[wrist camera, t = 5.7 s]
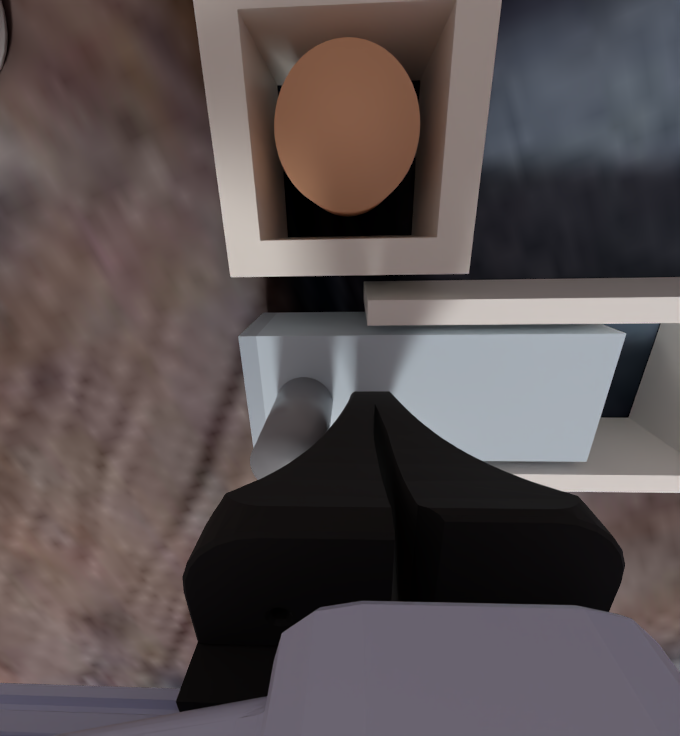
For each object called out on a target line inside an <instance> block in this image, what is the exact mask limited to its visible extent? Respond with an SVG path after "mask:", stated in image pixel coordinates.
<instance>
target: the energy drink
mask: <svg viewBox="0 0 680 736" xmlns="http://www.w3.org/2000/svg"><path fill="white" fill-rule="evenodd" d="M7 41H8V32H7V23H6V16H5V12H4V8H3V4H2V0H0V71H1V69H2V67H3V65H4V61H5V57H6V53H7Z"/></svg>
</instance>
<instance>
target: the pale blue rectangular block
mask: <svg viewBox="0 0 680 736" xmlns="http://www.w3.org/2000/svg"><path fill="white" fill-rule="evenodd" d="M625 336H626V333H624V332H621V331H618V330H616V329H613V328H611V327H608V326H605V325H603V324H502V325H382V326H367V319H366V313H365V312H284V313H263V314H262V315H261V316H260V317H259V318H257V319H256V320H255V321H254V322H253V323H252V324H251V325H250V326H249V327H248V328H247V329H246V330H245V331H244V332H242V333H241V334H240V335H239V336H238V337H239V345H240V352H241V359H242V367H243V374H244V382H245V389H246V396H247V404H248V411H249V418H250V426H251V433H252V440H253V451H252V453H251V457H250V465H251V469H252V472H253V474H254V475H255V477H256V478H257V480H259V479H261V478H263V477H265V476H267V475H269V474H271V473H273V472H275V471H276V470H278V469H280V468H282V467H283V466H285V465H287V464H288V463H290V462H291V461H293V460H294V459H296V458H297V457H298V456H300V455H301V454H303V453H304V452H305V451H307V450H308V449H309V448H310V447H311V446H313V445H314V444H315V443H316V442H317V441H318V440H319V439H320V438H321V437H322V436H323V435H324V434H325V433H326V432H327V430H328V429H329V428H330V427H331V426H332V424H333V423H334V422H335V421H336V419H337V418H338V417H339V415H340V414H341V412H342V411H343V409H344V408H345V406H346V404H347V403H348V401H349V399H350V396H351V394H352V393H353V392H354V391H390V392H391V393H392V394H393V395H394V396H395V398H396V399H397V400H398V401H399V402H400V403H401V404H402V405H403V406H404V407H405V408H406V409H407V410H408V411H409V412H410V413H411V414H412V415H414V416H415V417H416V418H417V419H418V420H419V421H420V422H422V423H423V424H424V425H425V426H427V427H428V428H429V429H431V430H432V431H433V432H434V433H436V434H437V435H439V436H440V437H441V438H443V439H444V440H446V441H448V442H449V443H451V444H452V445H454V446H456V447H457V448H459V449H461V450H462V451H464V452H466V453H468V454H470V455H472V456H474V457H476V458H477V459H479V460H481V461H546V462H587V459H588V456H589V453H590V449H591V446H592V443H593V440H594V436H595V433H596V430H597V427H598V424H599V420H600V417H601V414H602V411H603V407H604V404H605V401H606V398H607V394H608V391H609V388H610V385H611V382H612V378H613V375H614V372H615V369H616V365H617V362H618V359H619V356H620V353H621V349H622V346H623V343H624V340H625Z"/></svg>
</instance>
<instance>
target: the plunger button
mask: <svg viewBox="0 0 680 736" xmlns="http://www.w3.org/2000/svg"><path fill="white" fill-rule="evenodd" d="M419 134H420V112H419V104H418V100H417V95H416V92H415V90H414V87H413V84H412V82H411V80H410V78H409V76H408V74H407V72H406V71H405V69H404V68H403V66H402V65H401V64H400V63H399V61H398V60H397V59H396V58H395V57H394V56H393V55H392V54H391V53H389V52H388V51H387V50H386V49H384V48H383V47H381V46H379V45H378V44H376V43H373V42H371V41H368V40H365V39H361V38H356V37H342V38H335V39H332V40H328V41H325V42H323V43H321V44H319V45H317V46H315V47H314V48H312V49H311V50H309V51H308V52H307V53H305V54H304V55H303V56H302V57H301V58H300V59H299V60H298V61H297V63H296V64H295V65H294V66H293V67H292V69H291V70H290V72H289V74H288V75H287V77H286V79H285V81H284V83H283V85H282V87H281V90H280V93H279V96H278V99H277V104H276V109H275V118H274V135H275V142H276V147H277V151H278V155H279V158H280V161H281V164H282V166H283V168H284V170H285V172H286V174H287V176H288V177H289V179H290V180H291V182H292V183H293V184H294V185H295V187H296V188H297V189H298V190H299V191H300V192H301V193H302V194H303V195H304V196H305V197H307V198H308V199H310V200H311V201H312V202H314V203H315V204H317V205H318V206H320V207H321V208H323V209H324V210H326V211H328V212H330V213H332V214H335V215H339V216H347V217H350V216H357V215H361V214H364V213H367V212H369V211H370V210H372V209H374V208H375V207H376V206H378V205H379V204H380V203H381V202H382V201H383V200H384V199H385V198H386V197H387V196H388V195H389V194H390V193H391V192H393V191H394V190H395V189H396V188H397V186H398V185H399V184H400V183H401V181H402V180H403V179H404V177H405V175H406V174H407V172H408V170H409V168H410V166H411V164H412V162H413V159H414V156H415V154H416V150H417V146H418V142H419Z"/></svg>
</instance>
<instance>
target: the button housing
mask: <svg viewBox="0 0 680 736" xmlns="http://www.w3.org/2000/svg"><path fill="white" fill-rule="evenodd" d="M193 4H194V11H195V19H196V26H197V33H198V41H199V48H200V56H201V63H202V70H203V78H204V85H205V92H206V100H207V107H208V115H209V122H210V129H211V137H212V144H213V151H214V159H215V166H216V174H217V181H218V188H219V196H220V203H221V210H222V218H223V225H224V233H225V240H226V247H227V255H228V262H229V269H230V277H276V276H347V275H417V274H469V268H470V260H471V252H472V244H473V235H474V227H475V219H476V210H477V202H478V194H479V186H480V177H481V169H482V161H483V153H484V144H485V136H486V128H487V119H488V111H489V103H490V95H491V86H492V78H493V70H494V61H495V53H496V45H497V37H498V28H499V20H500V12H501V4H502V0H193ZM342 37H356V38H361V39H365V40H368V41H371V42H373V43H376V44H378V45H379V46H381V47H383V48H384V49H386V50H387V51H388V52H389V53H391V54H392V55H393V56H394V57H395V58H396V59H397V60H398V61H399V63H400V64H401V65H402V66H403V68H404V69H405V71H406V72H407V74H408V76H409V78H410V80H411V81H415V80H420V93H419V112H420V134H419V142H418V146H417V150H416V164H415V181H414V199H413V217H412V234H411V235H385V236H332V237H288V230H287V216H286V202H285V188H284V173H283V166H282V164H281V161H280V158H279V155H278V151H277V147H276V142H275V135H274V118H275V109H276V104H277V99H278V88H277V86H278V85H283V83H284V81H285V79H286V77H287V75H288V74H289V72H290V70H291V69H292V67H293V66H294V65H295V64H296V63H297V61H298V60H299V59H300V58H301V57H302V56H303V55H304V54H305V53H307V52H308V51H309V50H311V49H312V48H314V47H315V46H317V45H319V44H321V43H323V42H325V41H328V40H332V39H335V38H342Z"/></svg>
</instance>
